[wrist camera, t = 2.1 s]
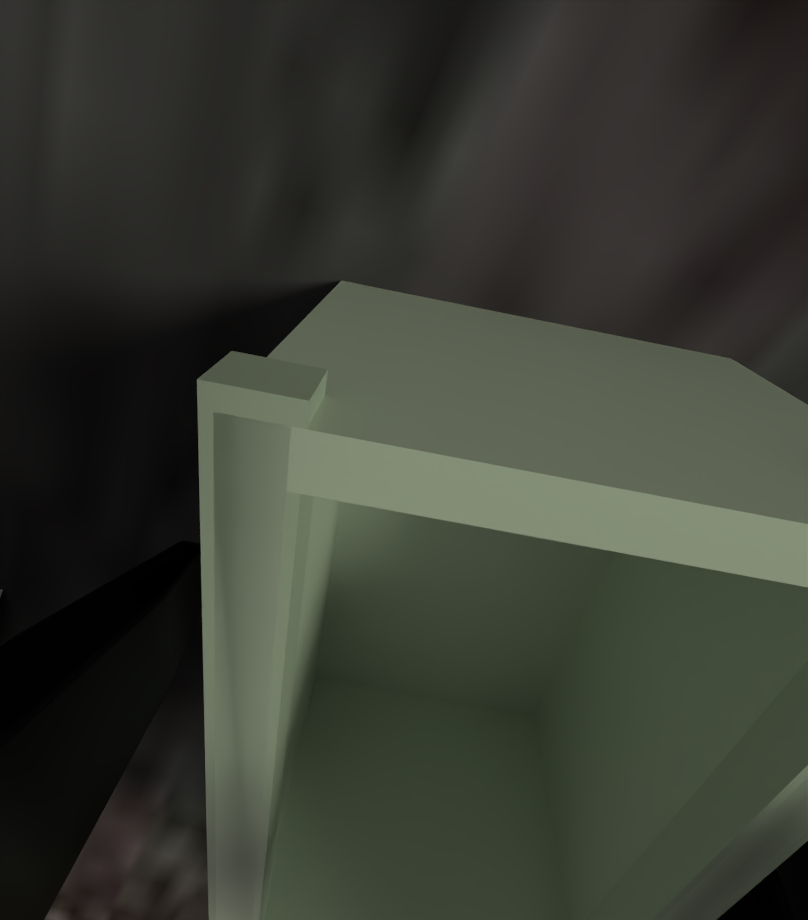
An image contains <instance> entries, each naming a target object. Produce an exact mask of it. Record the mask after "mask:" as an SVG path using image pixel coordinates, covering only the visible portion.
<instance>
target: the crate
mask: <svg viewBox="0 0 808 920" xmlns="http://www.w3.org/2000/svg"><path fill="white" fill-rule="evenodd" d="M197 405H198V451H199V496H200V542H201V588H202V634H203V679H204V725H205V771H206V817H207V862H208V908H209V920H717V919H718V918H719V917H720V916H721V915H722V914H724V913H725V912H726V911H727V910H728V909H729V908H731V907H732V906H733V905H734V904H735V903H736V902H738V901H739V900H740V899H741V898H742V897H743V896H744V895H746V894H747V893H748V892H749V891H750V890H751V889H753V888H754V887H755V886H756V885H757V884H758V883H760V882H761V881H762V880H763V879H764V878H765V877H766V876H768V875H769V874H770V873H771V872H772V871H773V870H775V869H776V868H777V867H778V866H779V865H780V864H781V863H783V862H784V861H785V860H786V859H787V858H788V857H790V856H791V855H792V854H793V853H794V852H795V851H797V850H798V849H799V848H800V847H801V846H802V845H803V844H805V843H806V842H807V841H808V405H807V404H805V403H804V402H802V401H800V400H799V399H797V398H795V397H794V396H792V395H790V394H789V393H787V392H785V391H784V390H782V389H780V388H779V387H777V386H775V385H774V384H772V383H771V382H769V381H767V380H766V379H764V378H762V377H761V376H759V375H757V374H756V373H754V372H752V371H751V370H749V369H747V368H746V367H744V366H742V365H741V364H739V363H737V362H736V361H734V360H732V359H730V358H725V357H720V356H715V355H710V354H705V353H700V352H695V351H690V350H685V349H680V348H675V347H670V346H665V345H660V344H655V343H650V342H645V341H640V340H635V339H630V338H625V337H620V336H615V335H610V334H605V333H600V332H595V331H590V330H585V329H580V328H575V327H570V326H565V325H560V324H555V323H550V322H545V321H540V320H535V319H530V318H525V317H520V316H515V315H510V314H505V313H500V312H495V311H490V310H485V309H480V308H475V307H470V306H465V305H460V304H455V303H450V302H445V301H440V300H435V299H430V298H425V297H420V296H415V295H410V294H405V293H400V292H395V291H390V290H385V289H380V288H375V287H370V286H365V285H360V284H355V283H350V282H345V281H341V282H340V283H339V284H338V285H337V286H336V287H335V288H334V289H333V290H332V291H331V292H330V293H329V294H328V295H327V296H326V297H325V298H324V299H323V300H322V301H321V302H320V303H319V304H318V305H317V306H316V307H315V308H314V309H313V310H312V311H311V312H310V313H309V314H308V315H307V316H306V317H305V318H304V319H303V320H302V321H301V322H300V324H299V325H298V326H297V327H296V328H295V329H294V330H293V331H292V332H291V333H290V334H289V335H288V336H287V337H286V338H285V339H284V340H283V341H282V342H281V343H280V344H279V345H278V346H277V347H276V348H275V349H274V350H273V351H272V352H271V353H270V354H269V355H268V356H267V357H261V356H256V355H251V354H246V353H241V352H235V351H231V352H230V353H229V354H227V355H226V356H225V357H224V358H222V359H221V360H220V361H219V362H218V363H216V364H215V365H214V366H213V367H211V368H210V369H209V370H208V371H207V372H205V373H204V374H203V375H202V376H200V377H199V378H198V379H197Z"/></svg>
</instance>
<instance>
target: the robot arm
mask: <svg viewBox="0 0 808 920" xmlns="http://www.w3.org/2000/svg"><path fill="white" fill-rule="evenodd" d="M201 609H202V588H201V544H200V543H194V542H189V541H182V542H179V543H177V544H175V545H173V546H171V547H170V548H168V549H166V550H164V551H163V552H161V553H159V554H157V555H156V556H154V557H152V558H150V559H149V560H147V561H145V562H143V563H142V564H140V565H138V566H136V567H135V568H133V569H131V570H129V571H128V572H126V573H124V574H122V575H121V576H119V577H117V578H115V579H114V580H112V581H110V582H108V583H107V584H105V585H103V586H101V587H100V588H98V589H96V590H94V591H93V592H91V593H89V594H87V595H86V596H84V597H82V598H80V599H79V600H77V601H75V602H73V603H72V604H70V605H68V606H66V607H65V608H63V609H61V610H59V611H57V612H56V613H54V614H52V615H50V616H49V617H47V618H45V619H43V620H42V621H40V622H38V623H36V624H35V625H33V626H31V627H29V628H28V629H26V630H24V631H22V632H21V633H19V634H17V635H15V636H14V637H12V638H10V639H8V640H7V641H5V642H3V643H1V644H0V920H44V919H45V917H46V915H47V914H48V912H49V910H50V908H51V906H52V904H53V902H54V901H55V899H56V897H57V895H58V893H59V891H60V889H61V888H62V886H63V884H64V882H65V880H66V878H67V876H68V875H69V873H70V871H71V869H72V867H73V865H74V863H75V862H76V860H77V858H78V856H79V854H80V852H81V850H82V849H83V847H84V845H85V843H86V841H87V839H88V837H89V836H90V834H91V832H92V830H93V828H94V826H95V824H96V823H97V821H98V819H99V817H100V815H101V813H102V811H103V810H104V808H105V806H106V804H107V802H108V800H109V798H110V797H111V795H112V793H113V791H114V789H115V787H116V786H117V784H118V782H119V780H120V778H121V776H122V774H123V773H124V771H125V769H126V767H127V765H128V763H129V761H130V760H131V758H132V756H133V754H134V752H135V750H136V748H137V747H138V745H139V743H140V741H141V739H142V737H143V735H144V734H145V732H146V730H147V728H148V726H149V724H150V722H151V721H152V719H153V717H154V715H155V713H156V711H157V709H158V708H159V706H160V704H161V702H162V700H163V698H164V696H165V694H166V692H167V690H168V688H169V686H170V684H171V682H172V680H173V678H174V675H175V673H176V671H177V668H178V666H179V663H180V661H181V658H182V656H183V653H184V651H185V648H186V646H187V644H188V641H189V639H190V636H191V634H192V631H193V629H194V626H195V624H196V621H197V619H198V616H199V614H200V611H201ZM717 920H808V841H807V842H806V843H805V844H803V845H802V846H801V847H800V848H799V849H798V850H797V851H795V852H794V853H793V854H792V855H791V856H790V857H788V858H787V859H786V860H785V861H784V862H783V863H781V864H780V865H779V866H778V867H777V868H776V869H775V870H773V871H772V872H771V873H770V874H769V875H768V876H766V877H765V878H764V879H763V880H762V881H761V882H760V883H758V884H757V885H756V886H755V887H754V888H753V889H751V890H750V891H749V892H748V893H747V894H746V895H744V896H743V897H742V898H741V899H740V900H739V901H738V902H736V903H735V904H734V905H733V906H732V907H731V908H729V909H728V910H727V911H726V912H725V913H724V914H722V915H721V916H720V917H719V918H718V919H717Z"/></svg>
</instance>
